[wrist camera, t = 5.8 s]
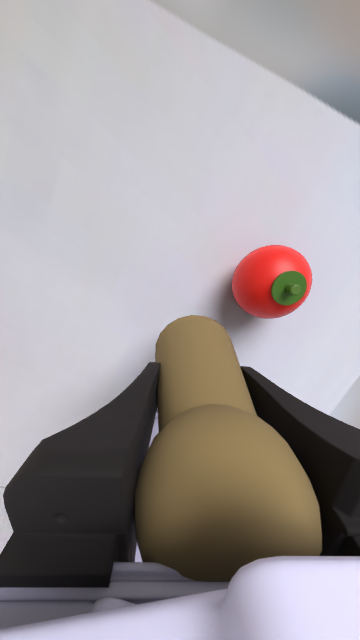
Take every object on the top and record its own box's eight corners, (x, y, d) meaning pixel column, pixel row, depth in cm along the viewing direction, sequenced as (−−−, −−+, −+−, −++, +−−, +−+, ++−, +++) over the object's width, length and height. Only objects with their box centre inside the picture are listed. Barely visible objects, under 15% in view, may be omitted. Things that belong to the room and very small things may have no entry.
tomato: (291, 292, 19) (350, 309, 13) (237, 317, 20) (266, 346, 13) (274, 235, 17) (332, 221, 11) (215, 265, 18) (236, 269, 12)
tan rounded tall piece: (180, 299, 13) (198, 453, 3) (247, 339, 14) (442, 558, 4) (141, 363, 15) (56, 617, 4) (204, 395, 16) (258, 659, 5)
